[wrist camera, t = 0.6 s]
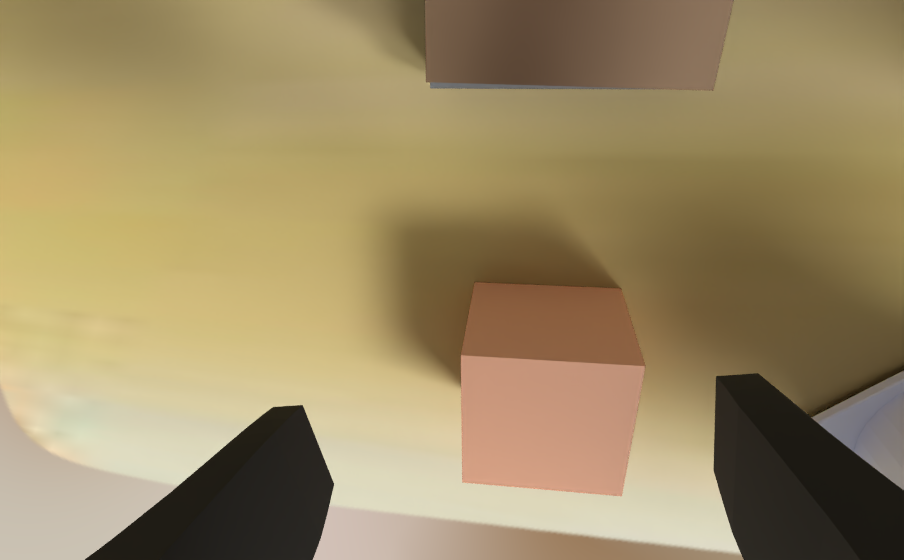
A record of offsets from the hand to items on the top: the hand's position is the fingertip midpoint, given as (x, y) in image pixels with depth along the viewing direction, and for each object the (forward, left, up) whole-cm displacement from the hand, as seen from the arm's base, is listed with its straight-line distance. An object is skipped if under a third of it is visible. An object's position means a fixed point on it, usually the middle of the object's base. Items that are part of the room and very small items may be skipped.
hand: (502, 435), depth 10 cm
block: (-4, +2, -10) cm, 11 cm away
